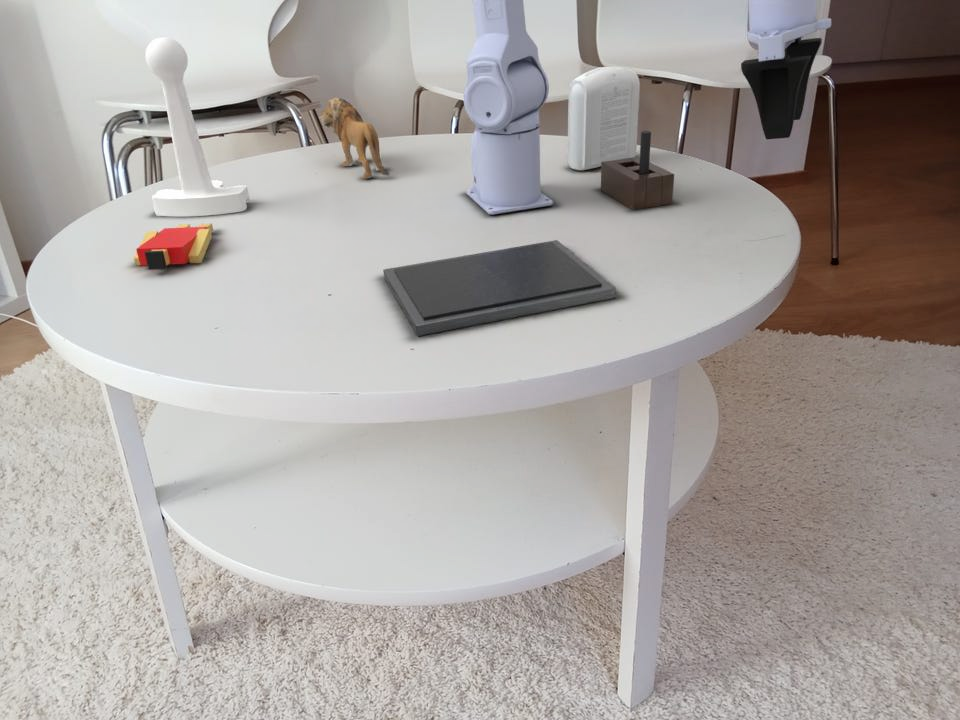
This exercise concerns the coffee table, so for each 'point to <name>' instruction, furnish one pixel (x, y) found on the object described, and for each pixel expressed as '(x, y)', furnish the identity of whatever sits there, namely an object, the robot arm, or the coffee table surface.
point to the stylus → (644, 152)
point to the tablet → (494, 286)
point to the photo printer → (602, 117)
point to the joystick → (187, 144)
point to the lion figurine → (353, 134)
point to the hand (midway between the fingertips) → (783, 128)
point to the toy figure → (174, 246)
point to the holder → (636, 183)
